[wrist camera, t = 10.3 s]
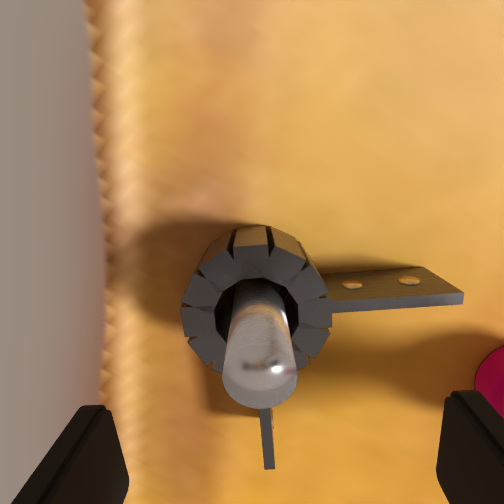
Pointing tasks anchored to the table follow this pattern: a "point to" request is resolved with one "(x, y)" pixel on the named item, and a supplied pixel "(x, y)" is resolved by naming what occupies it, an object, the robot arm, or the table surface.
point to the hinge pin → (259, 347)
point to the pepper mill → (492, 380)
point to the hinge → (293, 297)
